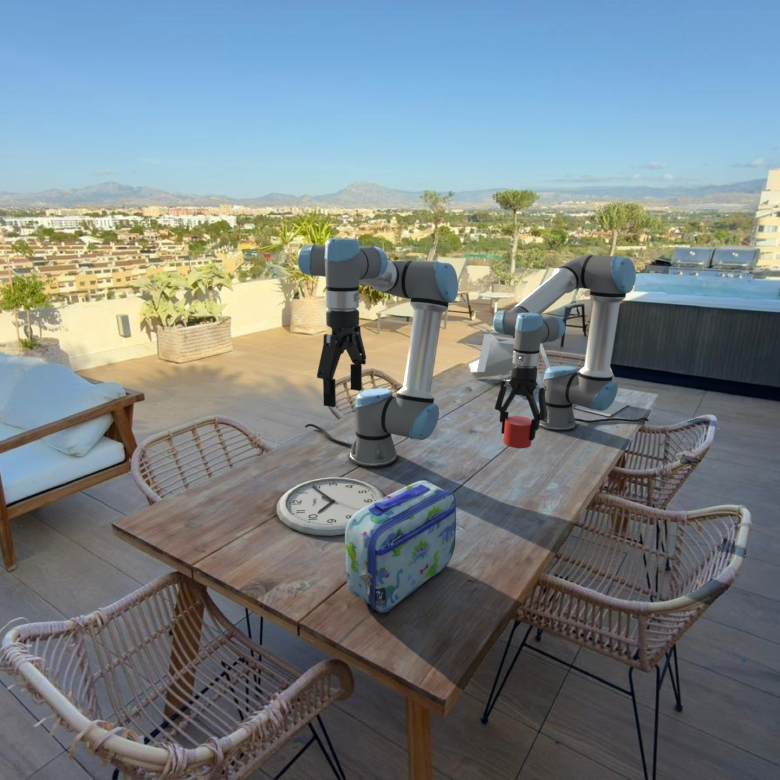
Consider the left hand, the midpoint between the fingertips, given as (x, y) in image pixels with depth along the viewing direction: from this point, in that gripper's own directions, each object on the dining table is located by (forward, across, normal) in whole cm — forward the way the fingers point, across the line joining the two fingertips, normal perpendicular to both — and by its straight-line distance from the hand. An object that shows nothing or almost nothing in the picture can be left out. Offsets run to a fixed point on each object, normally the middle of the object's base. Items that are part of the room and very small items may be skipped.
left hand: (343, 397), depth 125 cm
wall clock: (+34, +6, +7) cm, 35 cm away
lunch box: (+34, -17, -23) cm, 44 cm away
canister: (+25, +50, -35) cm, 66 cm away
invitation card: (+34, +127, -59) cm, 144 cm away
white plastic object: (+34, +143, -16) cm, 148 cm away
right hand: (+22, +50, -35) cm, 65 cm away
